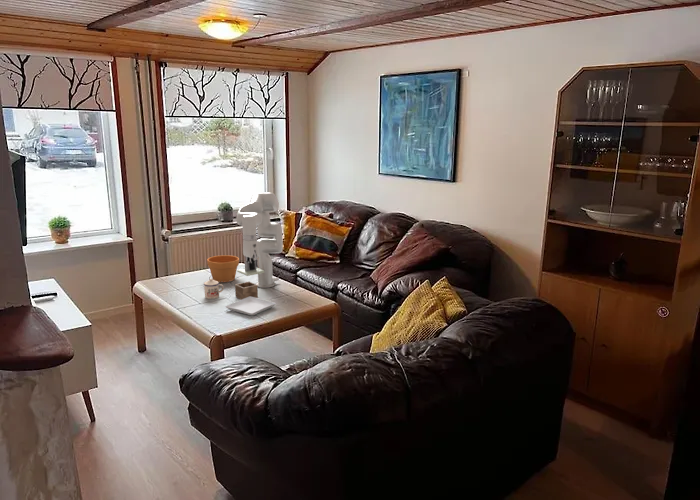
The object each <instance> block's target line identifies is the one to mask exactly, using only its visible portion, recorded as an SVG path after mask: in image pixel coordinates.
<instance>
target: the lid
mask: <svg viewBox="0 0 700 500" xmlns="http://www.w3.org/2000/svg"><path fill="white" fill-rule="evenodd" d="M249 263H250V261H248V262H246V261H244V268H240V269H237V270H236V273H239V274H242V275H244V276H246V277H249V276H254V275H258V274H260V273H264V270H261V269H259V268H258V267H257V260H256V261H255V269H254V270H250V268H249Z"/></svg>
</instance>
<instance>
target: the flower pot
mask: <svg viewBox="0 0 700 500" xmlns="http://www.w3.org/2000/svg"><path fill="white" fill-rule="evenodd" d="M206 260H207V261H206V263H207V266H208V268H209V270H210V273H211V274H210V275H211V279H213V280H215V281H218V282H219V283H229V282H233V281H235V278H236V274H237V270H238V266H240V265H239V263H240V258H239V257H238V256H236V255H227V254H226V255H225V254H224V255H215V256H210V257H208V258H207V259H206Z"/></svg>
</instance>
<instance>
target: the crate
mask: <svg viewBox="0 0 700 500" xmlns="http://www.w3.org/2000/svg"><path fill="white" fill-rule="evenodd" d="M258 288H259V287H258V285H256V283H254V282H251V281H246V282H241V283H235V284H234V292H235V298H238V299H239V300H242V299H244V298H247V297H249V296H251V297H255V298H259V293H258V291H259V290H258Z"/></svg>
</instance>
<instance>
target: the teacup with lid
mask: <svg viewBox="0 0 700 500" xmlns="http://www.w3.org/2000/svg"><path fill="white" fill-rule="evenodd" d="M203 287H204V298H205V299H208V300H213V299H214V300H215V299H218V298H220V293H222V292H223V291H224V285H223V284H222V283H221V284H220V282H218V281H215V280H213V278H209V280H206V281H205V282H203ZM219 287H221V290H220V288H219Z"/></svg>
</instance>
